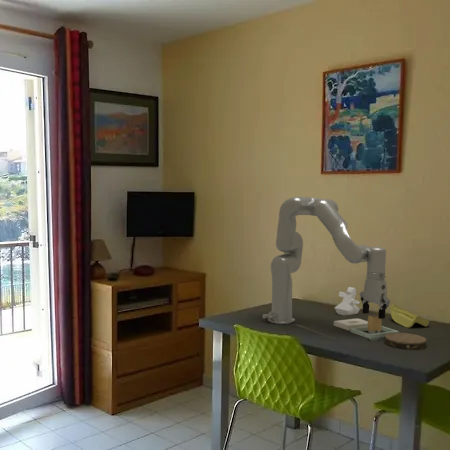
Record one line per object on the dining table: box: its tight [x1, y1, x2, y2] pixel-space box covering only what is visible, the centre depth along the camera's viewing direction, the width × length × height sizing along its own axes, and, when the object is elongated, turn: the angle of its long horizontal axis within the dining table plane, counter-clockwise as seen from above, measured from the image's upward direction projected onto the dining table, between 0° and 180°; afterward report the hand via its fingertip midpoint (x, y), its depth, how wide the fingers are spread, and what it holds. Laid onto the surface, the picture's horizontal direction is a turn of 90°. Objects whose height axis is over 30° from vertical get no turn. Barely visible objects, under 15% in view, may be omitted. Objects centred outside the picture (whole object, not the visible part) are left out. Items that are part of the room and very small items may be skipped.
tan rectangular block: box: [367, 314, 383, 334], centre depth 227 cm, size 5×3×8 cm, turn 117°
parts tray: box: [349, 325, 400, 342], centre depth 227 cm, size 16×12×2 cm
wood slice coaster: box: [384, 332, 427, 351], centre depth 214 cm, size 16×16×3 cm
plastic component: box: [390, 304, 430, 329], centre depth 251 cm, size 20×7×10 cm
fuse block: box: [333, 317, 368, 331], centre depth 239 cm, size 14×10×3 cm
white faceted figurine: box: [334, 286, 361, 316], centre depth 267 cm, size 8×14×14 cm, turn 36°
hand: (373, 315), depth 227 cm, fingers open, 9 cm apart
